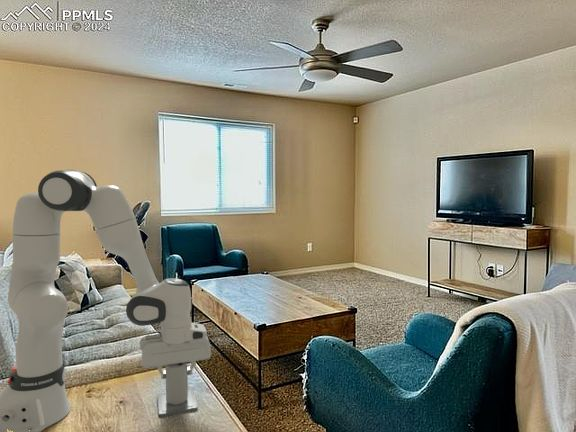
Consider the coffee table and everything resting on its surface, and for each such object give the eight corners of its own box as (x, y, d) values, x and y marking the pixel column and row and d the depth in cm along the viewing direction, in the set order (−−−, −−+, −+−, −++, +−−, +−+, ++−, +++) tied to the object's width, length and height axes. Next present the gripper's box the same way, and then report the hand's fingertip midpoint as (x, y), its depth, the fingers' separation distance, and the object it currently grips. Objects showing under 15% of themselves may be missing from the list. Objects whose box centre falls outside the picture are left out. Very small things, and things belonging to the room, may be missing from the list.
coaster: (158, 416, 113) (158, 413, 113) (157, 396, 124) (157, 393, 124) (197, 409, 117) (197, 406, 117) (193, 390, 127) (193, 387, 127)
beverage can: (185, 406, 117) (185, 367, 116) (163, 406, 117) (163, 368, 116) (189, 394, 124) (189, 357, 122) (168, 394, 123) (168, 358, 122)
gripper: (139, 340, 111) (140, 386, 113) (211, 332, 119) (211, 375, 120) (139, 332, 117) (140, 376, 119) (208, 324, 124) (208, 366, 126)
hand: (177, 375), depth 120 cm, fingers closed on beverage can, 6 cm apart
